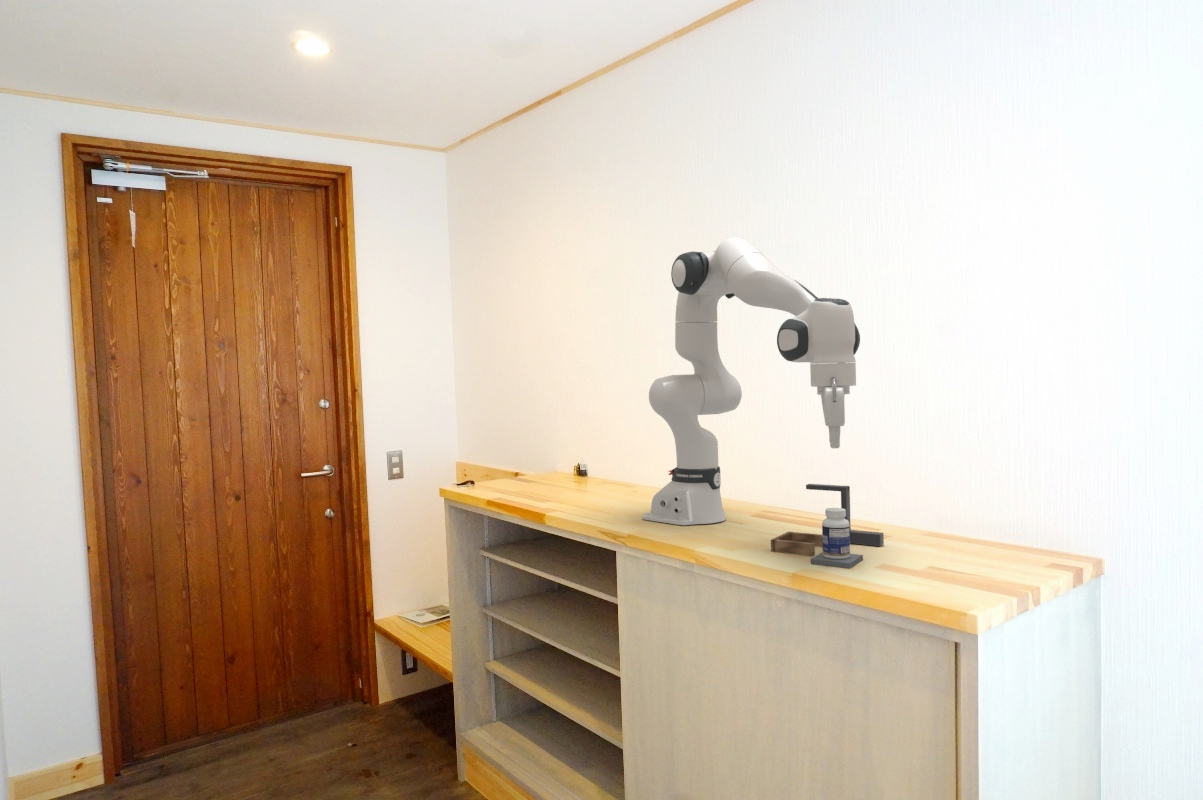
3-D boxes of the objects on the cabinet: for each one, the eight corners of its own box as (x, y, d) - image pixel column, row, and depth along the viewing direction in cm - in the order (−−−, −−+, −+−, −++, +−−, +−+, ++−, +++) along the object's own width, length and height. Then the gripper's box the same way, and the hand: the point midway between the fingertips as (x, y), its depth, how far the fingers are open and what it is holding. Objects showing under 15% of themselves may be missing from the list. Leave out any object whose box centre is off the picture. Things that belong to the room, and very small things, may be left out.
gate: (806, 538, 181) (805, 485, 181) (810, 536, 183) (809, 483, 183) (880, 546, 171) (879, 489, 171) (883, 543, 173) (882, 487, 173)
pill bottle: (822, 553, 163) (821, 506, 163) (849, 553, 162) (848, 507, 161) (823, 559, 158) (822, 511, 157) (851, 560, 156) (850, 511, 156)
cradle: (771, 551, 171) (770, 539, 171) (788, 542, 179) (788, 531, 179) (813, 556, 165) (812, 544, 165) (829, 546, 173) (829, 535, 173)
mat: (810, 563, 159) (810, 558, 159) (824, 555, 165) (824, 550, 165) (850, 568, 154) (850, 563, 154) (863, 559, 160) (862, 555, 160)
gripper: (851, 378, 147) (852, 451, 148) (847, 376, 167) (848, 441, 168) (816, 378, 149) (818, 451, 150) (817, 377, 169) (818, 441, 169)
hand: (834, 445), depth 159 cm, fingers open, 8 cm apart
